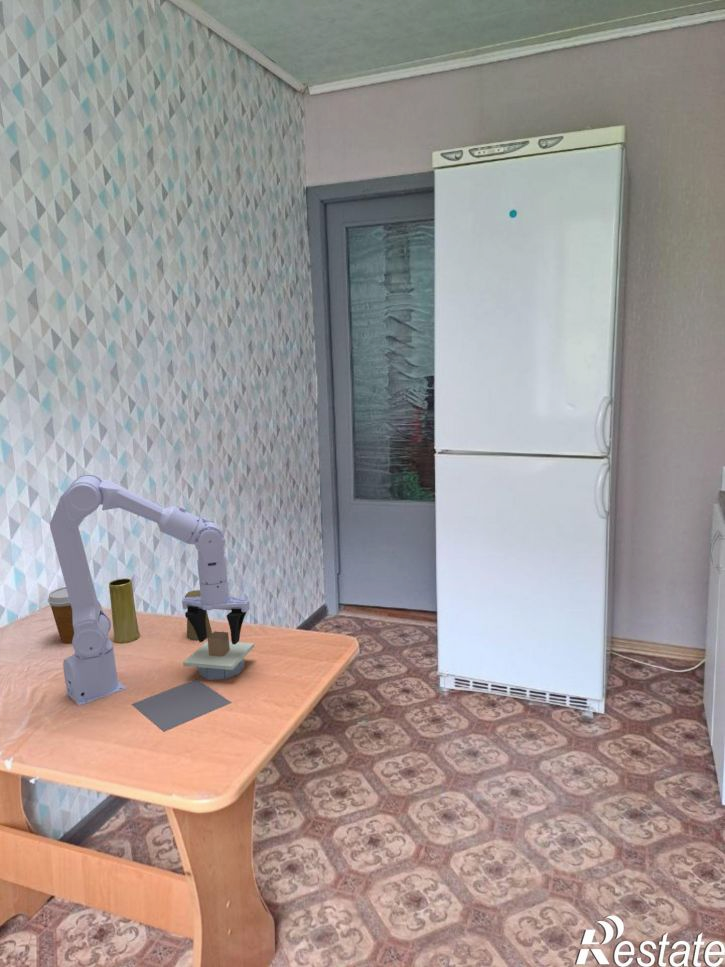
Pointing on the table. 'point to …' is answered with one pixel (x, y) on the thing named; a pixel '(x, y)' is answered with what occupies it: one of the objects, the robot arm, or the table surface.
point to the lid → (219, 653)
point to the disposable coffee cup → (62, 613)
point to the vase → (123, 611)
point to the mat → (180, 704)
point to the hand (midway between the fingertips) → (219, 641)
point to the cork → (190, 630)
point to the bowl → (221, 672)
